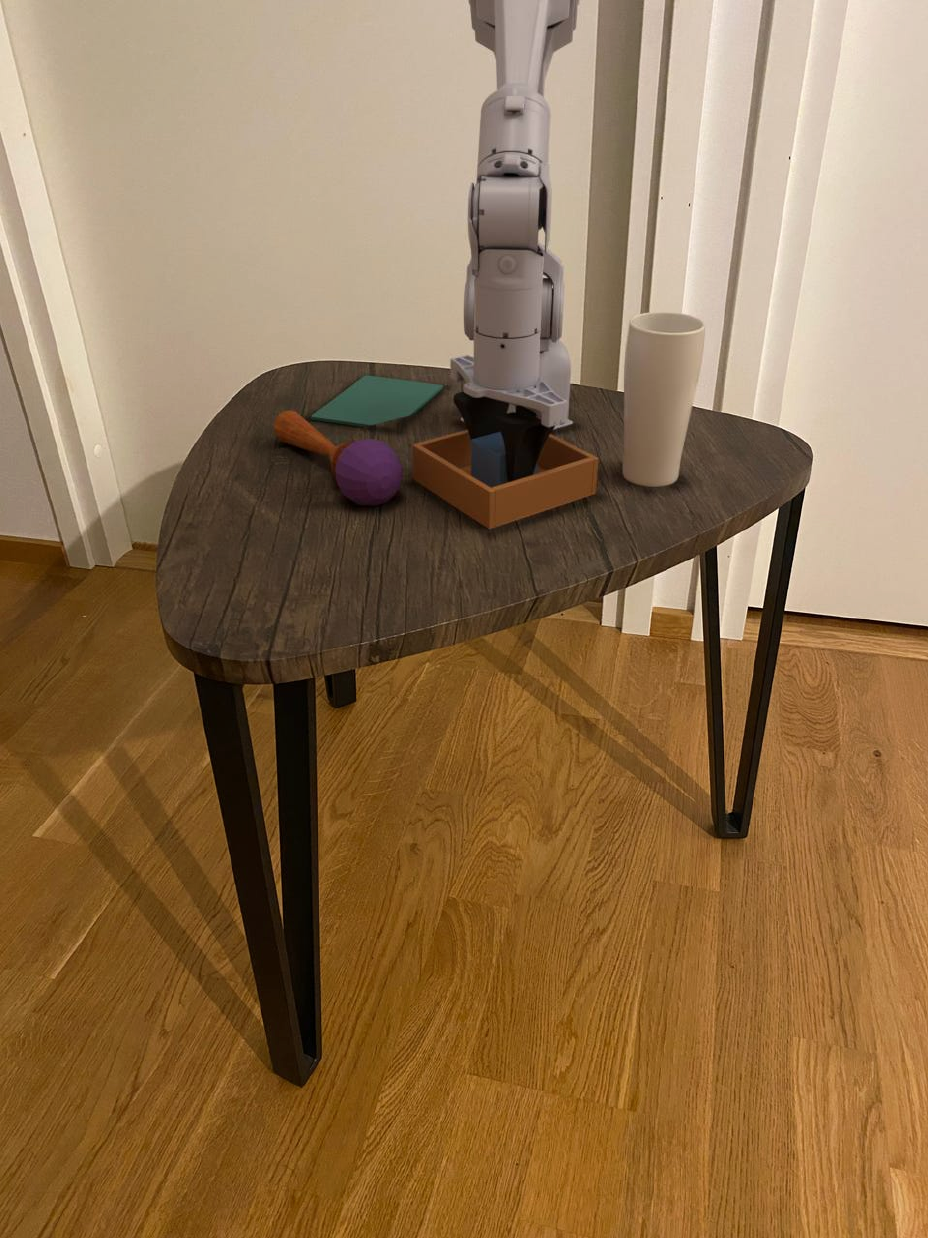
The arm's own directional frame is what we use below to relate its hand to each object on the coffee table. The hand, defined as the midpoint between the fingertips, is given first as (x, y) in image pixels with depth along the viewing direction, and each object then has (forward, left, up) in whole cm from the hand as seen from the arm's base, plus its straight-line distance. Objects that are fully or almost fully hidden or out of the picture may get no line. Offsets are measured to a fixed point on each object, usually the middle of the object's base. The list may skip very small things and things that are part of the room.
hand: (503, 474), depth 91 cm
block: (0, 0, -1) cm, 1 cm away
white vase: (-13, +6, -2) cm, 14 cm away
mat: (-2, -26, -2) cm, 26 cm away
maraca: (+11, -12, -2) cm, 17 cm away
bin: (0, 0, -2) cm, 2 cm away
